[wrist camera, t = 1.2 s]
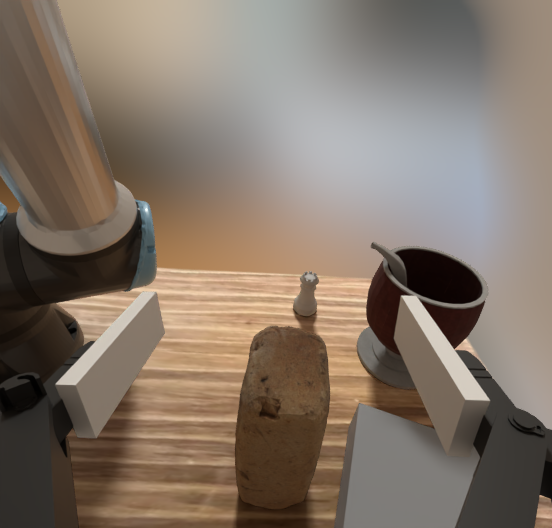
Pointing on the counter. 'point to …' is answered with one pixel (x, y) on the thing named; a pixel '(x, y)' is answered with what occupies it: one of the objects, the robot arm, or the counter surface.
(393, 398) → the counter surface
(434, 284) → the mate gourd
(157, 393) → the counter surface
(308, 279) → the rook chess piece
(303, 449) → the block
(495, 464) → the robot arm
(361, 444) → the grey base block
